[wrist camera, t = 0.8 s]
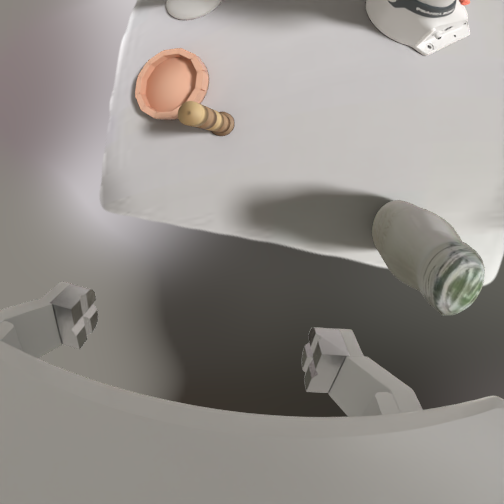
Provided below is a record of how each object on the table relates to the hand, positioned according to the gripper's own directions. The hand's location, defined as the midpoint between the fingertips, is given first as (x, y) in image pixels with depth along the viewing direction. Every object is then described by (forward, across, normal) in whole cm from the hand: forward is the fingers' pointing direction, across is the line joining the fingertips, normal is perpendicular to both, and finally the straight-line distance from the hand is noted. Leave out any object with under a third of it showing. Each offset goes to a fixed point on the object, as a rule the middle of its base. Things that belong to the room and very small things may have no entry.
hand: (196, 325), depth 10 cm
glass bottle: (+38, -27, +2) cm, 46 cm away
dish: (+46, +16, -16) cm, 52 cm away
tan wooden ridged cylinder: (+44, +6, -9) cm, 45 cm away
